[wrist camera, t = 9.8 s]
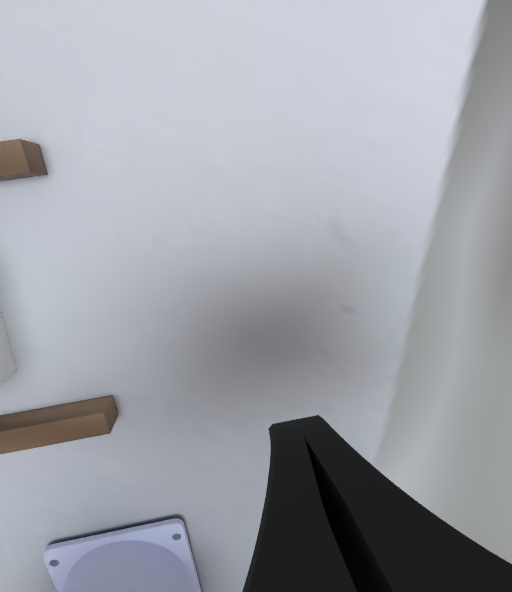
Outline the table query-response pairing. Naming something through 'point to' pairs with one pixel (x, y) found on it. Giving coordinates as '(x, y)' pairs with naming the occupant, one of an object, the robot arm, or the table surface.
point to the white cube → (5, 353)
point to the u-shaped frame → (63, 418)
